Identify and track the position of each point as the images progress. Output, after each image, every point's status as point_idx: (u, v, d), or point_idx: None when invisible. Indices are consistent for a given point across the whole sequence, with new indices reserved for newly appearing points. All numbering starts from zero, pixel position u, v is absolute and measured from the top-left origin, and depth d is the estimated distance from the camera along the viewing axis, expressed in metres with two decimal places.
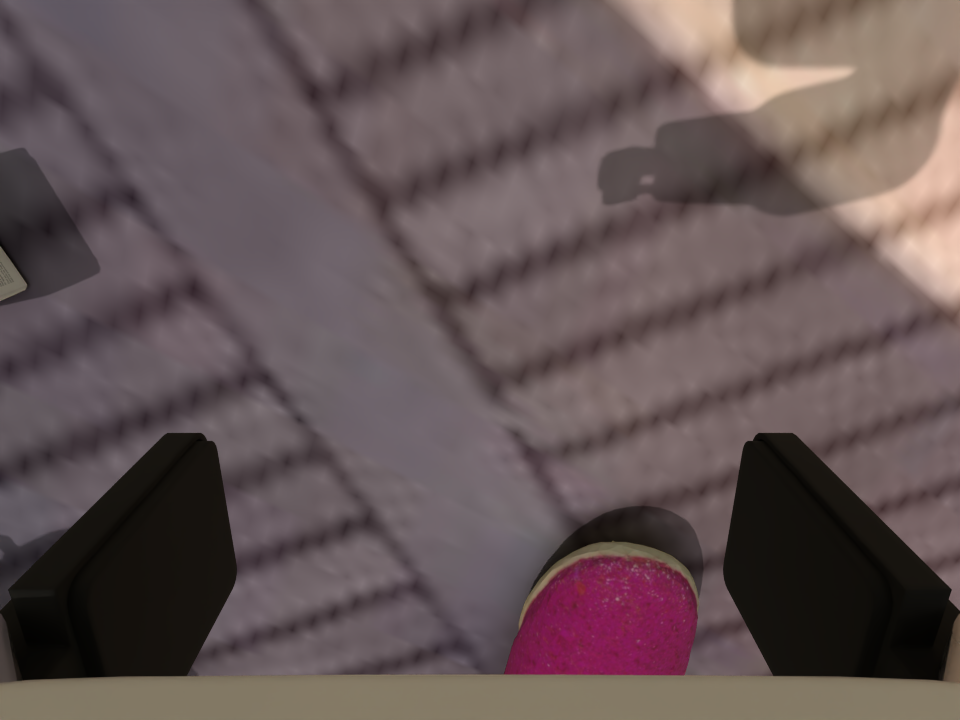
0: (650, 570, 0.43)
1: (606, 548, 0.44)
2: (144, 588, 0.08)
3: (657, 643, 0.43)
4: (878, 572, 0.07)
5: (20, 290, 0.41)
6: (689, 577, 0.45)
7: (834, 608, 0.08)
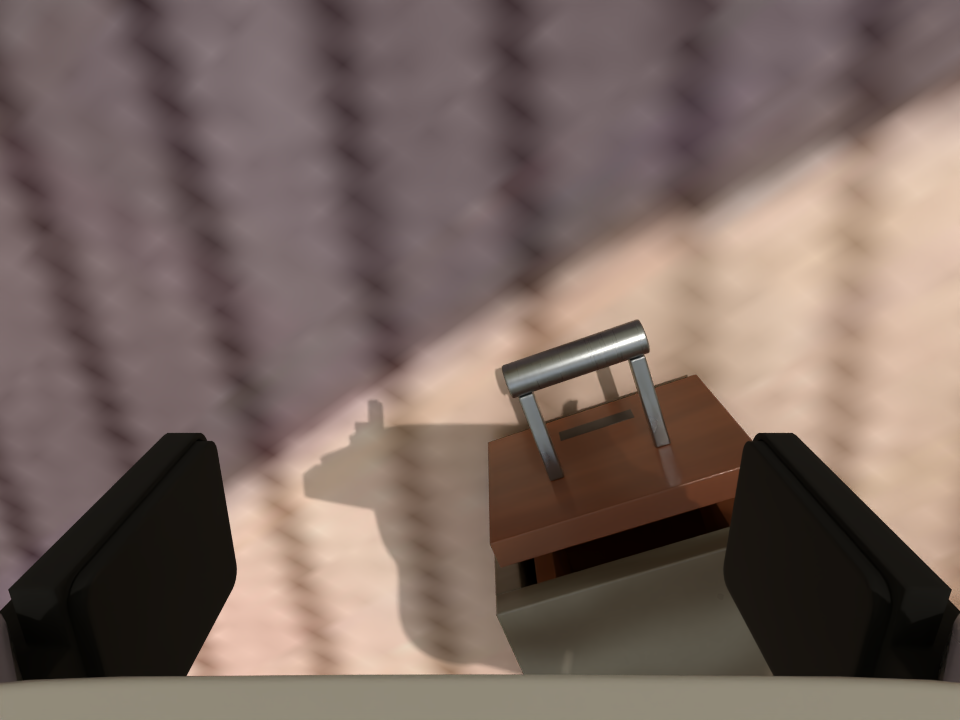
0: None
1: None
2: (144, 588, 0.08)
3: None
4: (878, 572, 0.07)
5: None
6: None
7: (834, 608, 0.08)
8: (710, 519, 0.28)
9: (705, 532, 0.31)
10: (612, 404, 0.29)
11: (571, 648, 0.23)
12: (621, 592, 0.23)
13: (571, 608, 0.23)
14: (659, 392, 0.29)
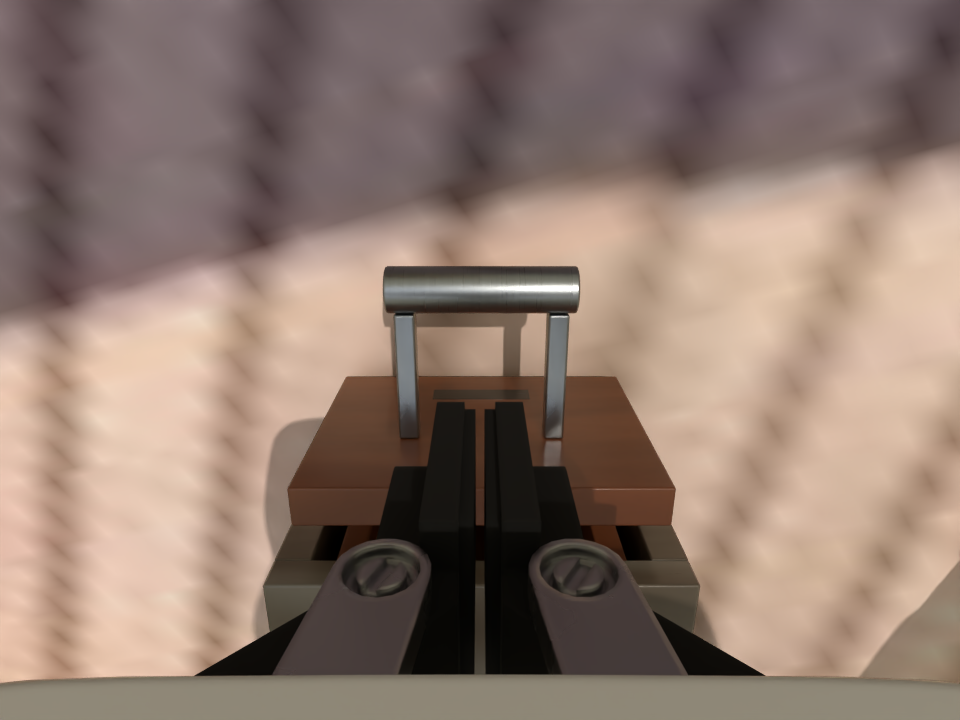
0: None
1: None
2: (475, 531, 0.09)
3: None
4: (500, 510, 0.08)
5: None
6: None
7: None
8: None
9: None
10: (508, 379, 0.24)
11: None
12: None
13: None
14: (567, 382, 0.23)
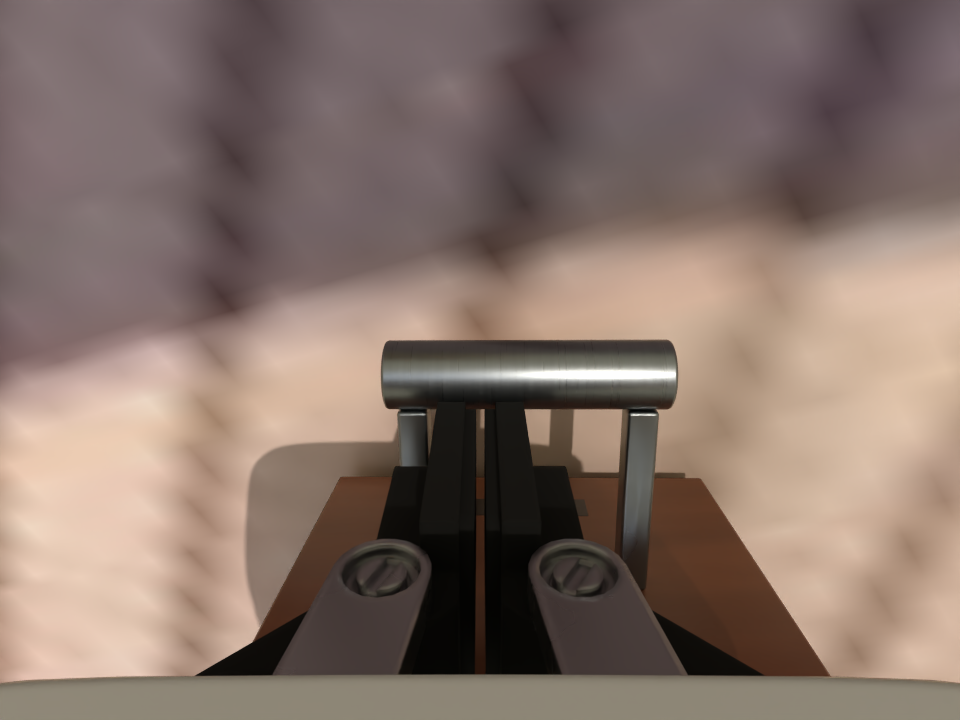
0: None
1: None
2: None
3: None
4: (499, 511, 0.08)
5: None
6: None
7: None
8: None
9: None
10: None
11: None
12: None
13: None
14: None
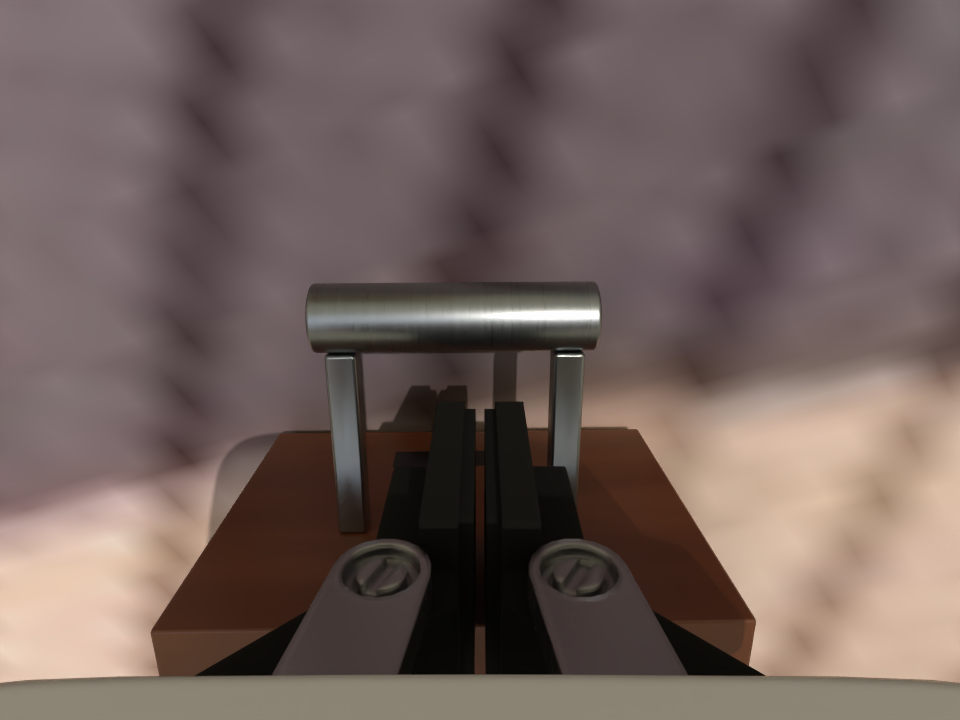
0: None
1: None
2: (475, 531, 0.09)
3: None
4: (499, 511, 0.08)
5: None
6: None
7: None
8: None
9: None
10: None
11: None
12: None
13: None
14: None
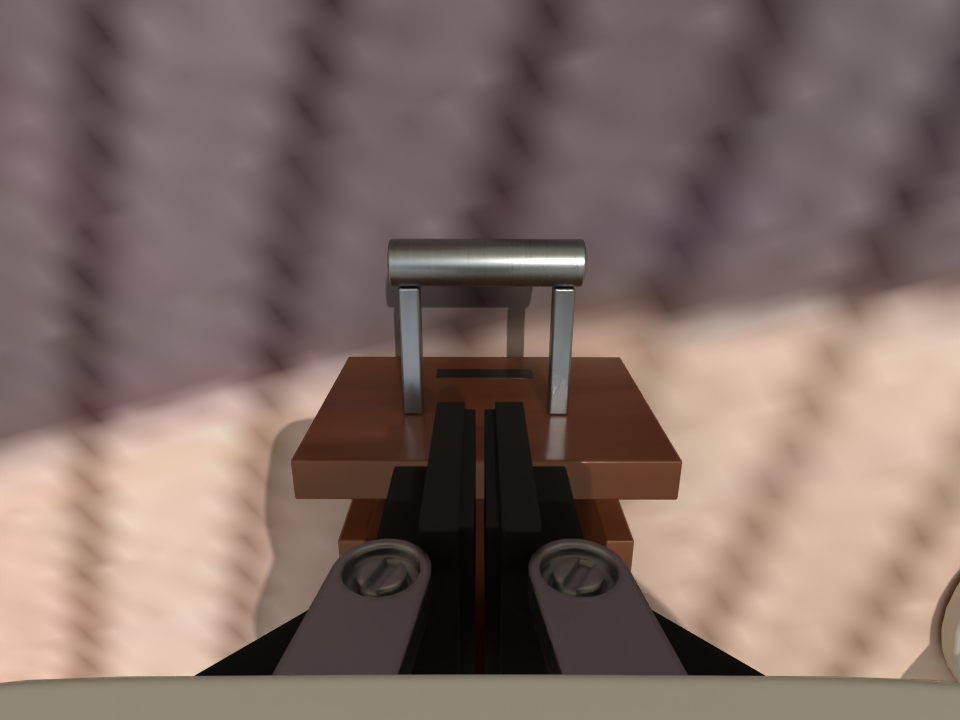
0: None
1: None
2: (475, 531, 0.09)
3: None
4: (499, 511, 0.08)
5: None
6: None
7: None
8: None
9: None
10: (512, 359, 0.23)
11: None
12: None
13: None
14: (571, 362, 0.23)
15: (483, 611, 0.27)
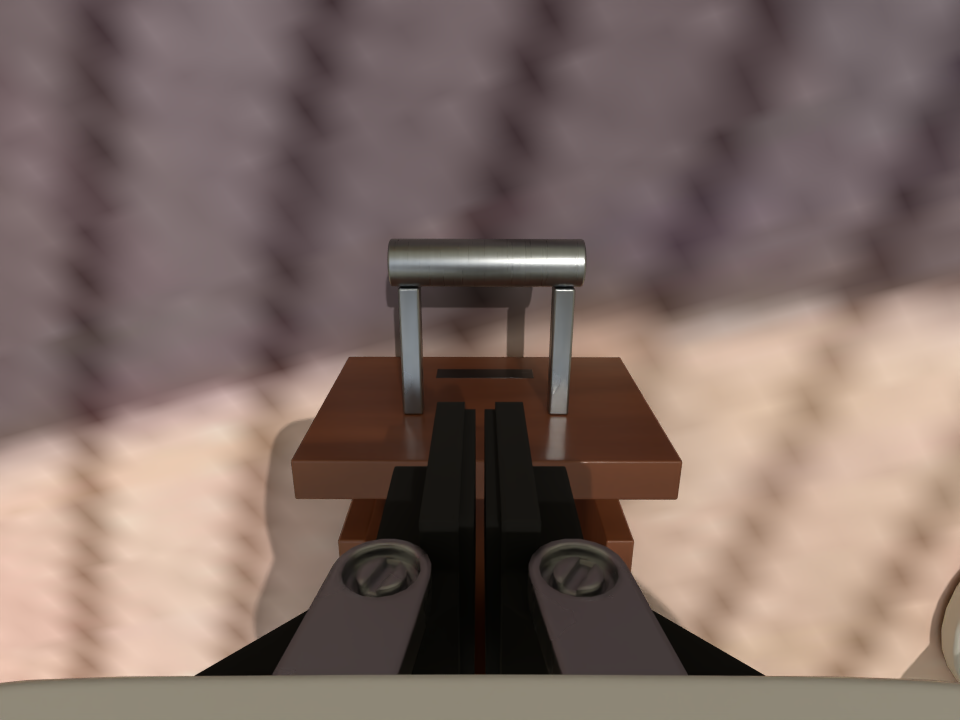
0: None
1: None
2: (475, 531, 0.09)
3: None
4: (499, 511, 0.08)
5: None
6: None
7: None
8: None
9: None
10: (512, 359, 0.23)
11: None
12: None
13: None
14: (571, 362, 0.23)
15: (483, 611, 0.27)
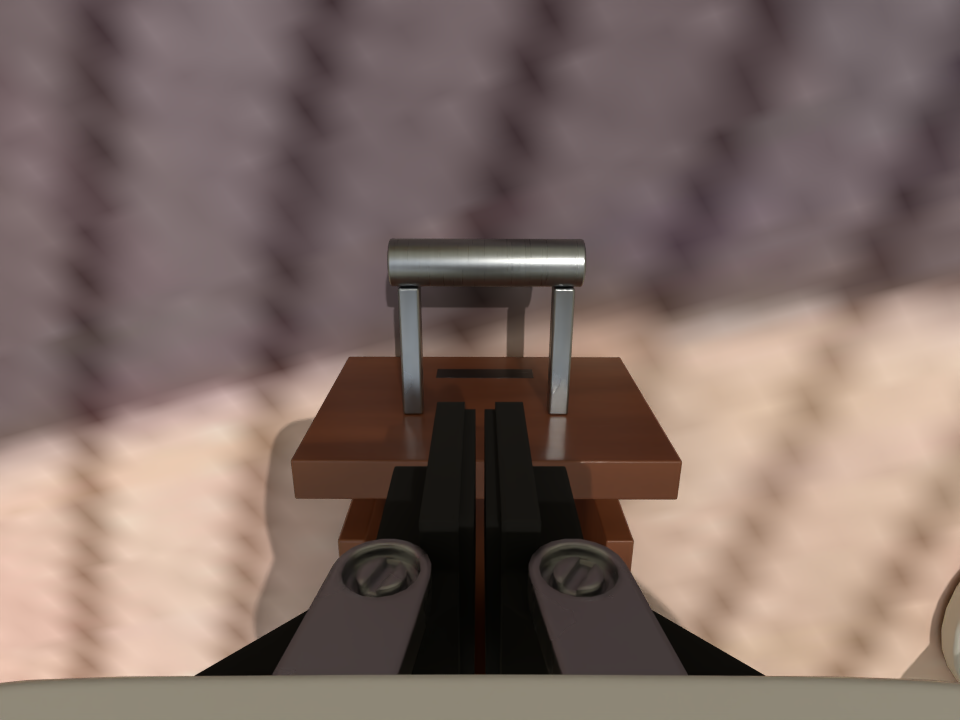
0: None
1: None
2: (475, 531, 0.09)
3: None
4: (499, 511, 0.08)
5: None
6: None
7: None
8: None
9: None
10: (512, 359, 0.23)
11: None
12: None
13: None
14: (571, 362, 0.23)
15: (483, 611, 0.27)
